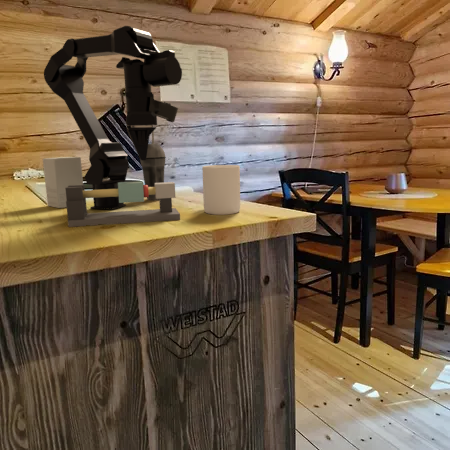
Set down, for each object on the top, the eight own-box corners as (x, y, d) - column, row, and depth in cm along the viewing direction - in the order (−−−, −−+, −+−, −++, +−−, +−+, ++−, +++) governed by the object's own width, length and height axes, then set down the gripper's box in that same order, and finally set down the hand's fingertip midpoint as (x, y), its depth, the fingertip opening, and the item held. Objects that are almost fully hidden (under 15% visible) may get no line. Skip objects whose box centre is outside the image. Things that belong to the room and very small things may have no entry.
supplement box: (86, 205, 111) (81, 156, 109) (58, 208, 106) (53, 158, 104) (73, 202, 116) (69, 156, 114) (46, 206, 111) (41, 157, 109)
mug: (191, 209, 100) (189, 165, 98) (222, 205, 104) (221, 163, 102) (213, 216, 90) (212, 167, 88) (247, 212, 94) (246, 165, 92)
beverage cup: (137, 200, 117) (132, 127, 113) (149, 197, 123) (145, 127, 119) (161, 201, 114) (157, 126, 110) (172, 197, 121) (168, 126, 117)
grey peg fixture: (68, 226, 82) (64, 188, 81) (73, 219, 90) (69, 184, 88) (180, 219, 87) (178, 183, 86) (175, 213, 95) (174, 180, 93)
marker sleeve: (119, 202, 86) (117, 184, 85) (119, 200, 89) (118, 182, 89) (144, 201, 87) (142, 183, 86) (143, 199, 90) (142, 181, 90)
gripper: (179, 83, 86) (182, 159, 89) (170, 93, 104) (173, 157, 107) (123, 83, 84) (129, 161, 87) (124, 93, 102) (128, 158, 105)
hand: (142, 159), depth 97 cm, fingers open, 9 cm apart
